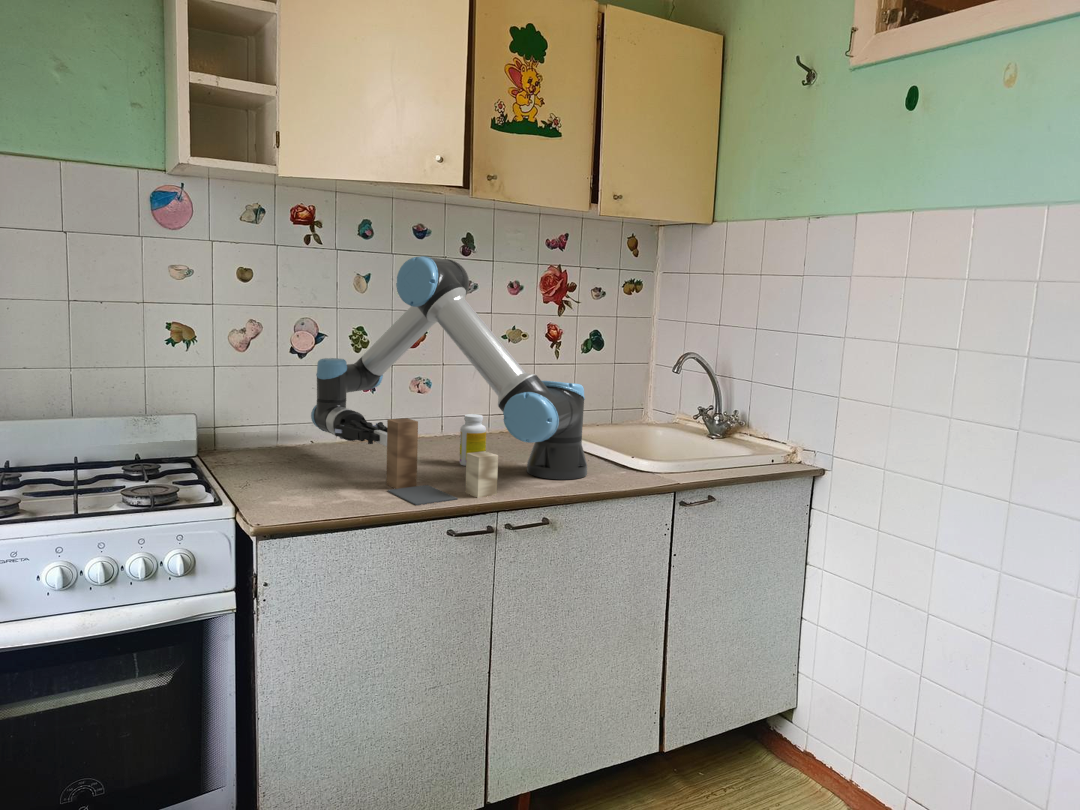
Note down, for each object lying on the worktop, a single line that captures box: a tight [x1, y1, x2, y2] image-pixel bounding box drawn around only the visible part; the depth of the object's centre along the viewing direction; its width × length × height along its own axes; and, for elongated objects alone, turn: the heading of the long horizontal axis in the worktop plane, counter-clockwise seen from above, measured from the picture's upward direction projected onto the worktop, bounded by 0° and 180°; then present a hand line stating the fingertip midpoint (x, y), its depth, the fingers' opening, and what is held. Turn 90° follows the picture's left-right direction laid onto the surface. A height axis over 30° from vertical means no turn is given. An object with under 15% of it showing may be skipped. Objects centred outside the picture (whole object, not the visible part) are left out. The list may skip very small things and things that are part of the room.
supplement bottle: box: [459, 413, 487, 467], centre depth 202 cm, size 7×7×13 cm
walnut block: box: [385, 417, 419, 489], centre depth 177 cm, size 5×5×15 cm
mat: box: [386, 484, 458, 506], centre depth 171 cm, size 10×13×1 cm
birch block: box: [464, 450, 499, 499], centre depth 174 cm, size 5×5×9 cm
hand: (389, 440), depth 181 cm, fingers closed
